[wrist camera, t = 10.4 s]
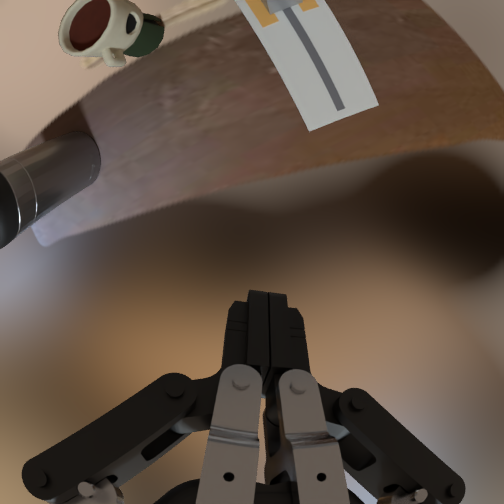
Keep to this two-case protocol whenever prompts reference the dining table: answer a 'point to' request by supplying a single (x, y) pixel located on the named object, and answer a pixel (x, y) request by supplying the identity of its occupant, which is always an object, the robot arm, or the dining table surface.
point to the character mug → (108, 31)
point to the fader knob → (279, 4)
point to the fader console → (312, 60)
